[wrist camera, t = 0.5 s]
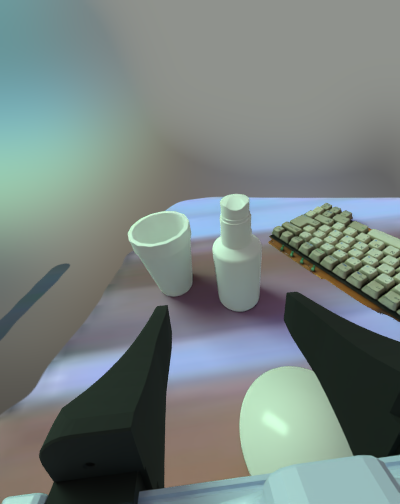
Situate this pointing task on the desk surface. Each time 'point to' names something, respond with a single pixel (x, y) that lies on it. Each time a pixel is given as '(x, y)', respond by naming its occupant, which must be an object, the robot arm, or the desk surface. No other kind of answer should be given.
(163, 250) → the foam cup
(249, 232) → the spray bottle
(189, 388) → the desk surface
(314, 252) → the mechanical keyboard
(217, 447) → the desk surface
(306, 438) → the dish
